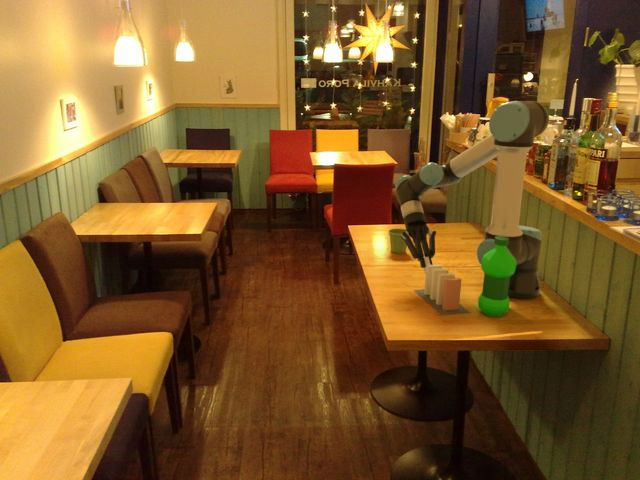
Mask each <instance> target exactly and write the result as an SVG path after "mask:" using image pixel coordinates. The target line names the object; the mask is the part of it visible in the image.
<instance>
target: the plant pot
mask: <svg viewBox="0 0 640 480" xmlns="http://www.w3.org/2000/svg"><path fill="white" fill-rule="evenodd" d="M387 232H388V235H389V244H390V252H392V253H395V254H403V253H404V254H405V253H407V249H408V247H407V245H406V243H405V241H404V240H403V239H402V238H401V235H402V233H403V232H406V228H397V227H396V228H390V229H388V230H387Z"/></svg>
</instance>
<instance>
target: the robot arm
mask: <svg viewBox="0 0 640 480" xmlns="http://www.w3.org/2000/svg"><path fill="white" fill-rule="evenodd" d="M488 122H489V123H488V130H489V132H490V134H489V135H488V136H486V137H484V138H483V139H482V140H480V141H478V142H477V143H475V144H473V146H471V147H469V148H467V149H466V150H464V151H462V152H461V153H460V154H458V155H456V156H455V157H454V158H452V159H451V160H449V161H447V162H446V163H444V164H443V165H442V164H441V165H439V164H438V163H435V162H428V163H426V165H424V166H422V167H420V169H419V170H418V171H417V172H415V173H414V174H413V175H403V176H402V177H399V178H397V179H396V181H395V184H394V188H395V193H396V196H397V199H398V203H399V207H400V211H401V215H402V218H403V223H404V227H405V229H406V232H403V233H402V235H401V238H402V239H403V240H404V241H405V243H406V245H407V249H408V250H409V253H410V255H411V256H412V258H413V259H414V260H417V261H418V262H419V264H420V267H421V268H422V269H423V270H424V275H425V276H426V266H427V265H434V264H433V261H432V259H433V257H434V256H435V255H436V234H437V231H436V230H433V231H432V230H431V229H430V228H429V226H428V225H427V220H426V216H425V212H424V208H423V206H422V202H421V196H423V195H425V194H426V193H427V192H428V191H429V190H431V189H436V188H441V187H446V186H453V185H455V184H458V183H460V181H462V178H463V177H465V176H467V175H469V174H471V173H472V172H473V171H475V170H477V169H478V168H480V167H481V166H483V165H486V164H487V163H488V162H490V161H492V160H493V159H495V158H497V159H496V170H495V178H494V179H495V181H494V187H493V188H494V189H493V200H492V208H491V209H492V211H491V219H490V220H491V221H490V224H489V226H487V227H485V232H484V238H483V239H484V240H482V241H481V242H480V243H479V244H478V246H477V249H476V257H477V260H478V262H479V264H480V265H481V263H482V258H483V256H484V254H486V253H487V252H489V251H491V250H492V249H494V248H496V244H494V241H495V237H496V236H504V237H507V238H509V244H508V245H507V246H506V249H507V250H508V251H509V252H510V253H511V254H512V255H513V256H514V258H515V259H516V269H515V272H514V274H513V275H511V276H510V281H509V289H508V297H509V298H514V299H519V300H520V299H521V300H522V299H523V300H525V299H526V300H527V299H528V300H529V299H530V300H531V299H535V298H538V297H539V296H540V294H541V293H540V292H541V286H540V280H539V276H538V275H539V274H538V269H539V268H538V267H539V260H540V254H541V246H542V242H543V240H542V239H543V237H542V236H543V233H542V231H541V230H540V229H539V228H535V227H531V226H526V225H520V216H521V209H522V208H521V207H522V199H523V190H524V183H525V182H524V181H525V173H526V164H527V156H528V152H529V151H530V150H531V149H533V148H534V140H535V138H537V137H540V136H541V135H542V134H544V132H545V131H546V129H548V126H549V123H550V115H549V112H548V109H547V108H546V106H545V105H543V104H542V103H541V102H539V101H536V100H519V101H518V100H511V101H508V102H504V103H502V104H500V105H498V106H497V107H496V108H495V109H494V110H493V111H492V112H491V115H490V117H489V120H488ZM427 236H428V237H427ZM428 238H429V239H428ZM427 239H428V240H427Z"/></svg>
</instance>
